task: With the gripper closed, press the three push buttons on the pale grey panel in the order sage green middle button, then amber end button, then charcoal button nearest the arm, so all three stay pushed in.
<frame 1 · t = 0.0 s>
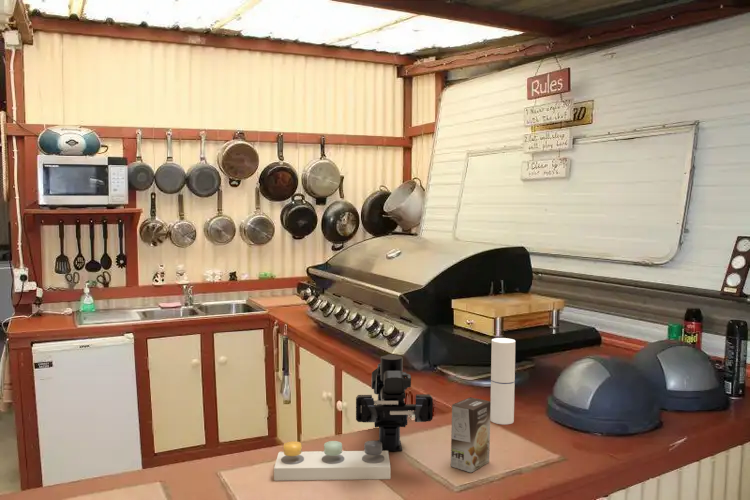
hand: (396, 419, 143), 17 cm above the worktop, tool horizontal, fingers open, 9 cm apart
button sage: (333, 449, 154), point 6 cm above the worktop, slide at 0.0 cm
button amber: (292, 449, 153), point 6 cm above the worktop, slide at 0.0 cm
button panel: (333, 470, 154), on the worktop
cylindrical container: (501, 421, 191), on the worktop
coffee box: (470, 465, 159), on the worktop
button charcoal: (373, 448, 154), point 6 cm above the worktop, slide at 0.0 cm
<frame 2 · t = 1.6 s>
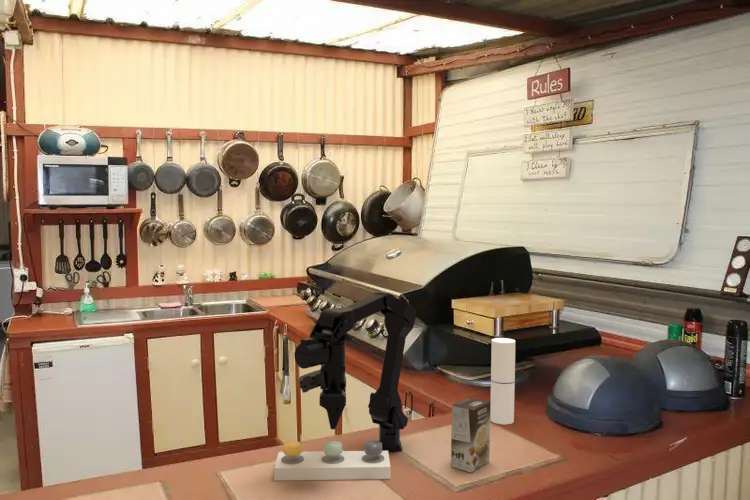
hand: (333, 423, 153), 12 cm above the worktop, tool pointing down, fingers open, 8 cm apart
nothing on the worktop moved.
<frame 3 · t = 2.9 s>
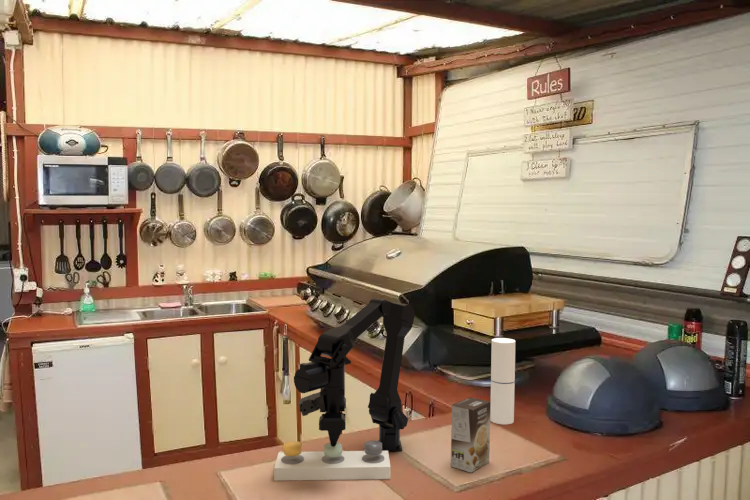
hand: (333, 445, 154), 6 cm above the worktop, tool pointing down, fingers closed, pressing on button sage
button sage: (333, 450, 154), point 5 cm above the worktop, slide at 0.4 cm, touching gripper
everything else where it was.
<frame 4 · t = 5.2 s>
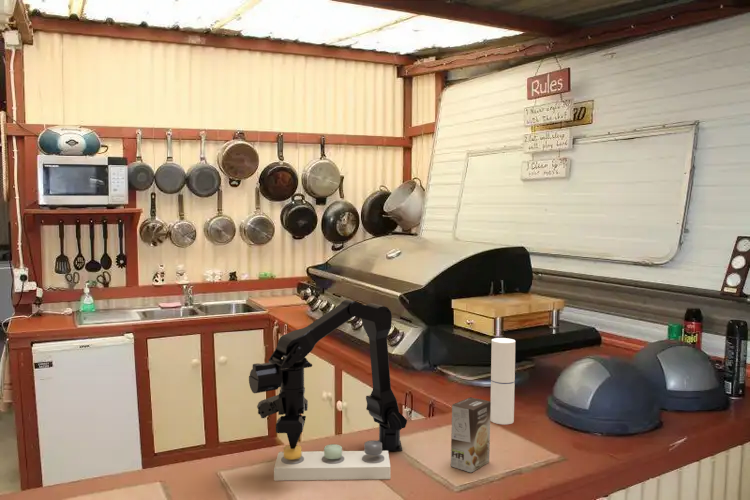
hand: (292, 448, 153), 6 cm above the worktop, tool pointing down, fingers closed, pressing on button amber
button sage: (333, 452, 154), point 5 cm above the worktop, slide at 0.9 cm
button amber: (292, 452, 153), point 5 cm above the worktop, slide at 0.9 cm, touching gripper
everything else where it was.
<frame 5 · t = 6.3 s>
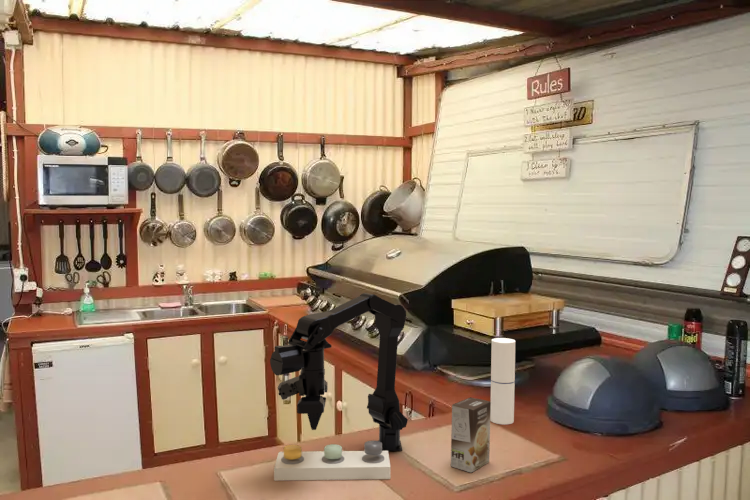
hand: (313, 429, 153), 11 cm above the worktop, tool pointing down, fingers closed
button amber: (292, 452, 153), point 5 cm above the worktop, slide at 0.9 cm
everything else where it was.
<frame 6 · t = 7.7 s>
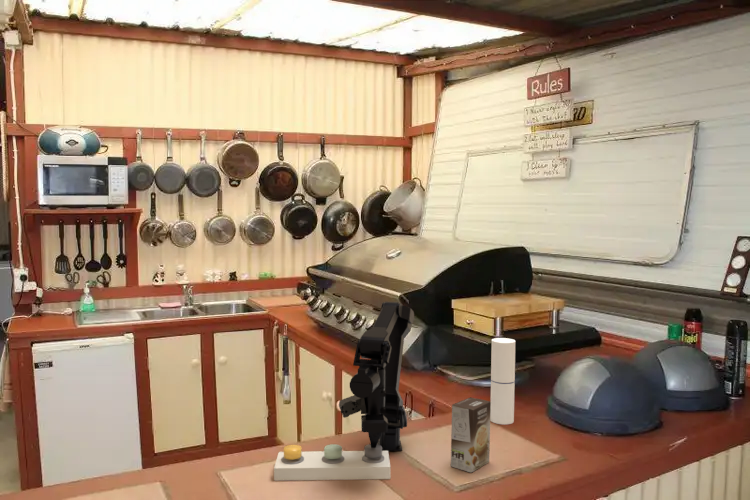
hand: (373, 447, 154), 6 cm above the worktop, tool pointing down, fingers closed, pressing on button charcoal
button charcoal: (373, 451, 154), point 5 cm above the worktop, slide at 0.9 cm, touching gripper
everything else where it was.
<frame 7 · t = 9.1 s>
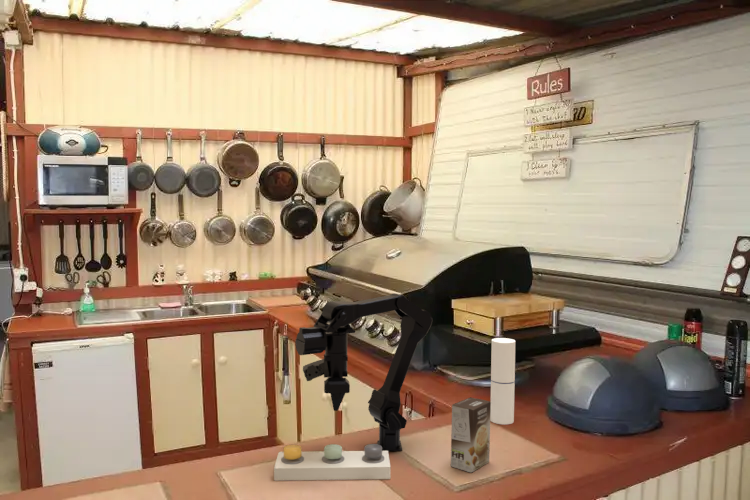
hand: (335, 410, 161), 13 cm above the worktop, tool pointing down, fingers closed
button charcoal: (373, 451, 154), point 5 cm above the worktop, slide at 0.9 cm
everything else where it was.
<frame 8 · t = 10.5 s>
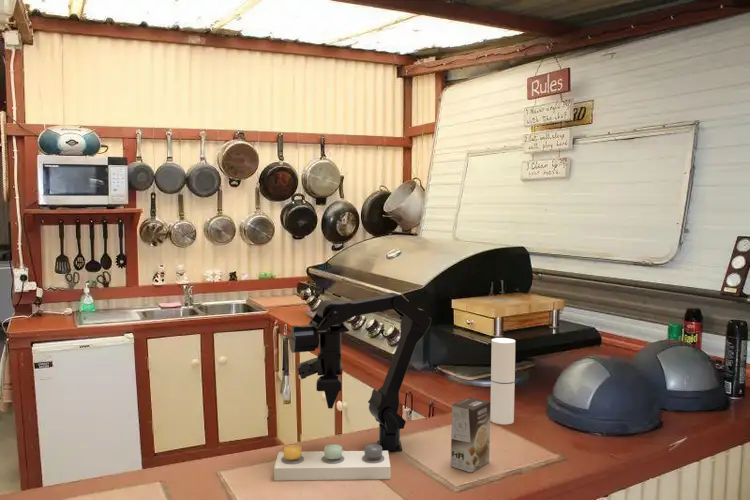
hand: (330, 408, 162), 13 cm above the worktop, tool pointing down, fingers closed
nothing on the worktop moved.
at the end: button sage slide at 0.9 cm; button amber slide at 0.9 cm; button charcoal slide at 0.9 cm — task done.
